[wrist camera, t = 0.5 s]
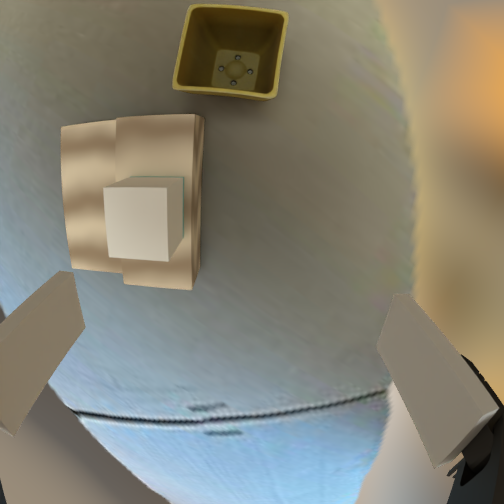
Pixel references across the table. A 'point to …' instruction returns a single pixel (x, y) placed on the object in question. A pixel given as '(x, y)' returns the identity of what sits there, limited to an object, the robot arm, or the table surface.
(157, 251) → the cream block
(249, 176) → the table surface
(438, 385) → the robot arm
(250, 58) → the flower pot
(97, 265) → the beech steps
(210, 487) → the table surface
